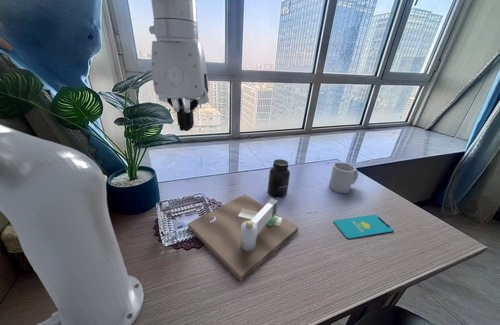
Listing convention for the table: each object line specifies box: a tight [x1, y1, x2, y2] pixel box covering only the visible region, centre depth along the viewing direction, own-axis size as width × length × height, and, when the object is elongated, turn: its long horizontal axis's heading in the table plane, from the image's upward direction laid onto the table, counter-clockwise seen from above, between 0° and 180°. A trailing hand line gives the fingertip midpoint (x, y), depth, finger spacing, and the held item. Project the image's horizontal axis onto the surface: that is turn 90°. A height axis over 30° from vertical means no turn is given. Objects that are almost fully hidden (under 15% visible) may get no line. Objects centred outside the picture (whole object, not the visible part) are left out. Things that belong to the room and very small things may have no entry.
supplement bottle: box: [267, 159, 291, 199], centre depth 71 cm, size 7×7×12 cm
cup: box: [328, 161, 359, 194], centre depth 77 cm, size 7×10×9 cm
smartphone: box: [333, 214, 394, 240], centre depth 60 cm, size 7×1×15 cm
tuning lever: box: [241, 198, 279, 252], centre depth 53 cm, size 14×4×7 cm, turn 147°
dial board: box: [187, 193, 299, 282], centre depth 57 cm, size 21×21×2 cm
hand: (186, 129), depth 47 cm, fingers closed
